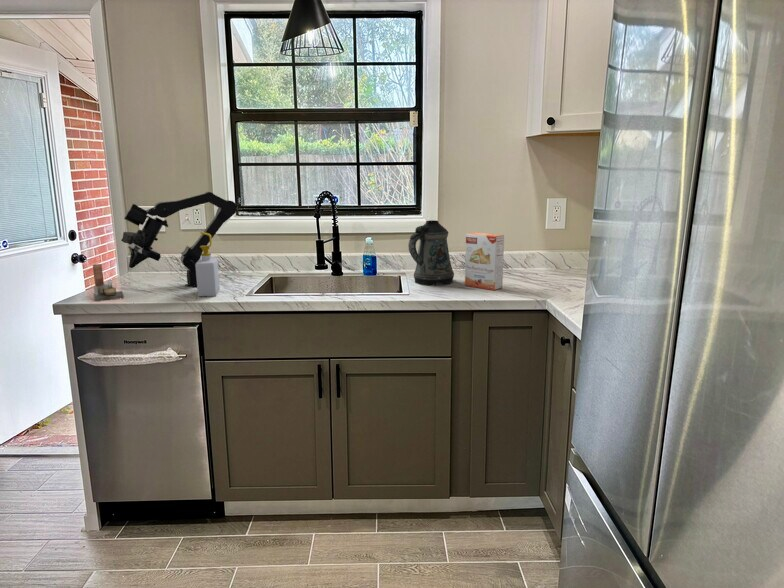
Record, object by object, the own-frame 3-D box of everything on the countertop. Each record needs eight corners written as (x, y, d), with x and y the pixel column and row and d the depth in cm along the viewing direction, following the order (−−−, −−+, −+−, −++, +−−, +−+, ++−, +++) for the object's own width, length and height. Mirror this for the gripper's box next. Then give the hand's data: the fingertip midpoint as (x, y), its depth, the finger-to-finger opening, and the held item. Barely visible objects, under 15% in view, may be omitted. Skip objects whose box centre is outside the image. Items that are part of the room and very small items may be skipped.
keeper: (112, 292, 216) (111, 277, 215) (113, 295, 211) (111, 280, 209) (94, 293, 214) (93, 279, 212) (95, 297, 208) (93, 282, 207)
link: (118, 294, 211) (115, 267, 209) (108, 295, 208) (105, 268, 206) (103, 289, 219) (100, 263, 217) (93, 291, 216) (90, 265, 214)
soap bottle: (202, 290, 223) (197, 230, 217) (220, 289, 224) (215, 229, 219) (197, 297, 211) (192, 234, 206) (216, 296, 212) (211, 233, 207)
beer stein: (459, 279, 238) (460, 219, 233) (441, 288, 222) (442, 224, 216) (423, 276, 246) (423, 218, 240) (403, 285, 229) (403, 222, 223)
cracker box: (464, 286, 226) (465, 233, 222) (473, 283, 231) (474, 231, 226) (494, 290, 217) (496, 235, 212) (502, 288, 221) (504, 234, 217)
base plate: (122, 293, 218) (122, 291, 218) (123, 298, 210) (123, 295, 210) (94, 296, 214) (94, 293, 214) (94, 301, 206) (94, 298, 206)
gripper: (119, 216, 218) (99, 252, 218) (146, 231, 209) (125, 269, 208) (143, 227, 228) (124, 261, 227) (169, 242, 218) (150, 278, 217)
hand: (130, 267), depth 220 cm, fingers closed
